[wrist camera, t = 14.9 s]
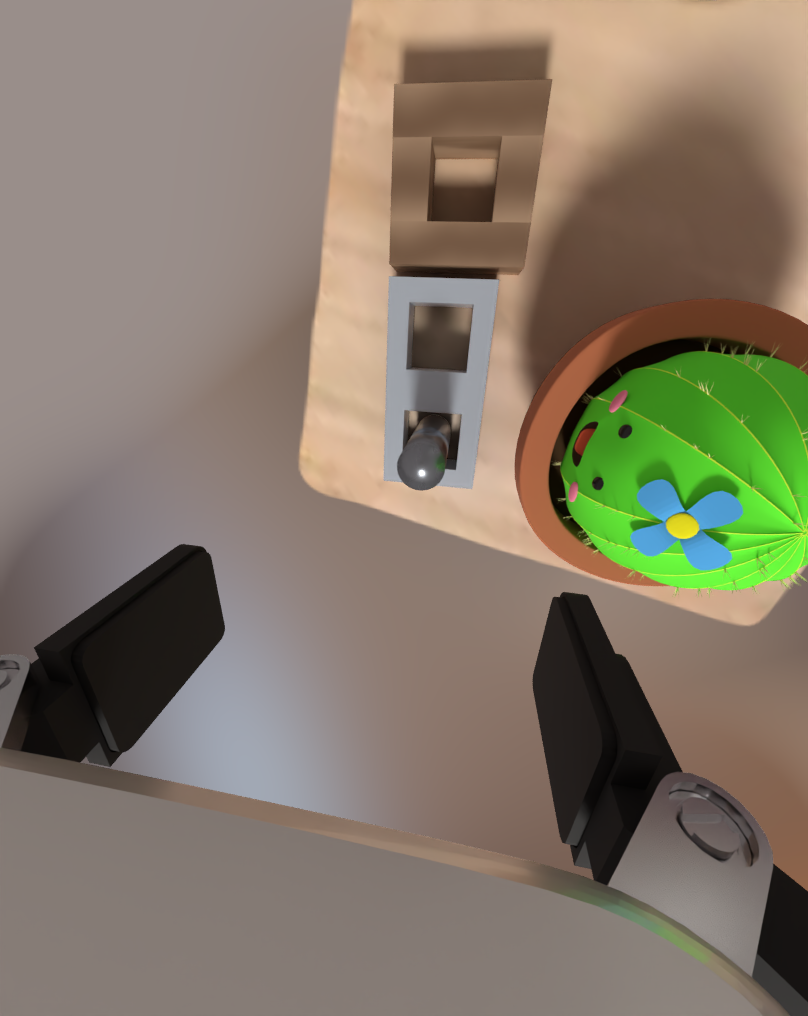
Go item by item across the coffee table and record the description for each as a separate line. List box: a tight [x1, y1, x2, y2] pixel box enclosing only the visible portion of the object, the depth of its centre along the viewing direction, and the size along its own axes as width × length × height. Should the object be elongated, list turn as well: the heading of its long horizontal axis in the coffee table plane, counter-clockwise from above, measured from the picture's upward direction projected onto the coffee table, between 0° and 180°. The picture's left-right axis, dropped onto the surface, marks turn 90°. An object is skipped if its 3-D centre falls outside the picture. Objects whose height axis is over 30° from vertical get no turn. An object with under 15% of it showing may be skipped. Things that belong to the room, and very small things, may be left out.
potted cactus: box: [515, 299, 808, 598], centre depth 30 cm, size 22×22×25 cm
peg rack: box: [384, 276, 499, 489], centre depth 40 cm, size 20×10×4 cm, turn 177°
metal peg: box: [397, 415, 451, 490], centre depth 38 cm, size 4×4×14 cm
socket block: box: [389, 79, 552, 275], centre depth 33 cm, size 12×12×4 cm
